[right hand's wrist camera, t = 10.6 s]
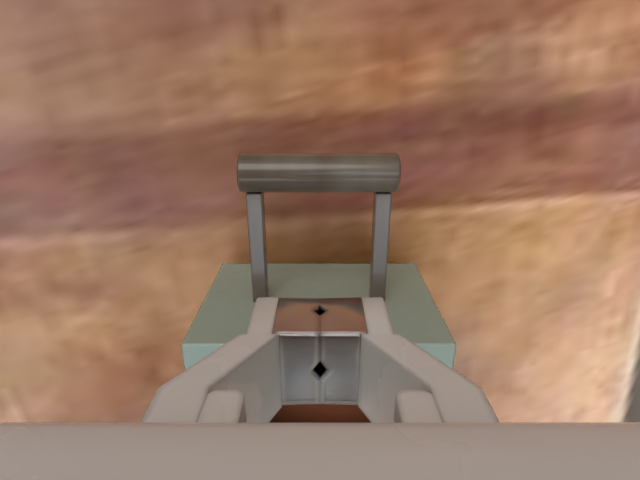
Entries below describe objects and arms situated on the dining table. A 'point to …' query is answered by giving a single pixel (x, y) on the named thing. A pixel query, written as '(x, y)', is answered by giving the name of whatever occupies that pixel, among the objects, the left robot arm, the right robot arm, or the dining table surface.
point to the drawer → (318, 267)
